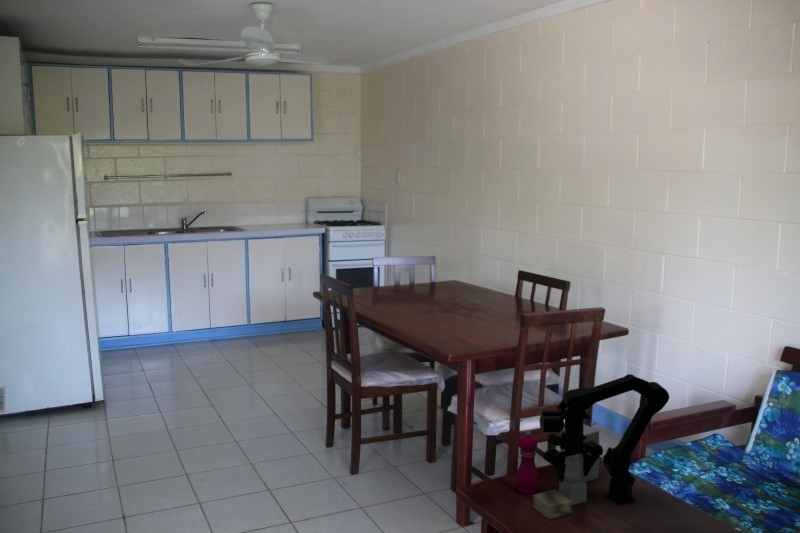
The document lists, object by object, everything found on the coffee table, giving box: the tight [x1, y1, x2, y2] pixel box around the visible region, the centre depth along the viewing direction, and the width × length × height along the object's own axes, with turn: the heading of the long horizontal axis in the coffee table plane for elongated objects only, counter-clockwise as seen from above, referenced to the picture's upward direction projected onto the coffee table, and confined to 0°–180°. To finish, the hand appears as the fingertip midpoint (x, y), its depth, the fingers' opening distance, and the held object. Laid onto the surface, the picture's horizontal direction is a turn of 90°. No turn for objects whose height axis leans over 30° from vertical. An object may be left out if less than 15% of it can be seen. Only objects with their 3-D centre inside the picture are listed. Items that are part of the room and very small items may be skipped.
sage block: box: [558, 476, 588, 506], centre depth 211 cm, size 6×6×6 cm
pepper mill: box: [515, 430, 540, 495], centre depth 217 cm, size 7×7×20 cm
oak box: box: [532, 489, 572, 520], centre depth 205 cm, size 8×8×4 cm
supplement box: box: [559, 423, 600, 483], centre depth 226 cm, size 10×9×17 cm
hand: (573, 478), depth 210 cm, fingers open, 9 cm apart
